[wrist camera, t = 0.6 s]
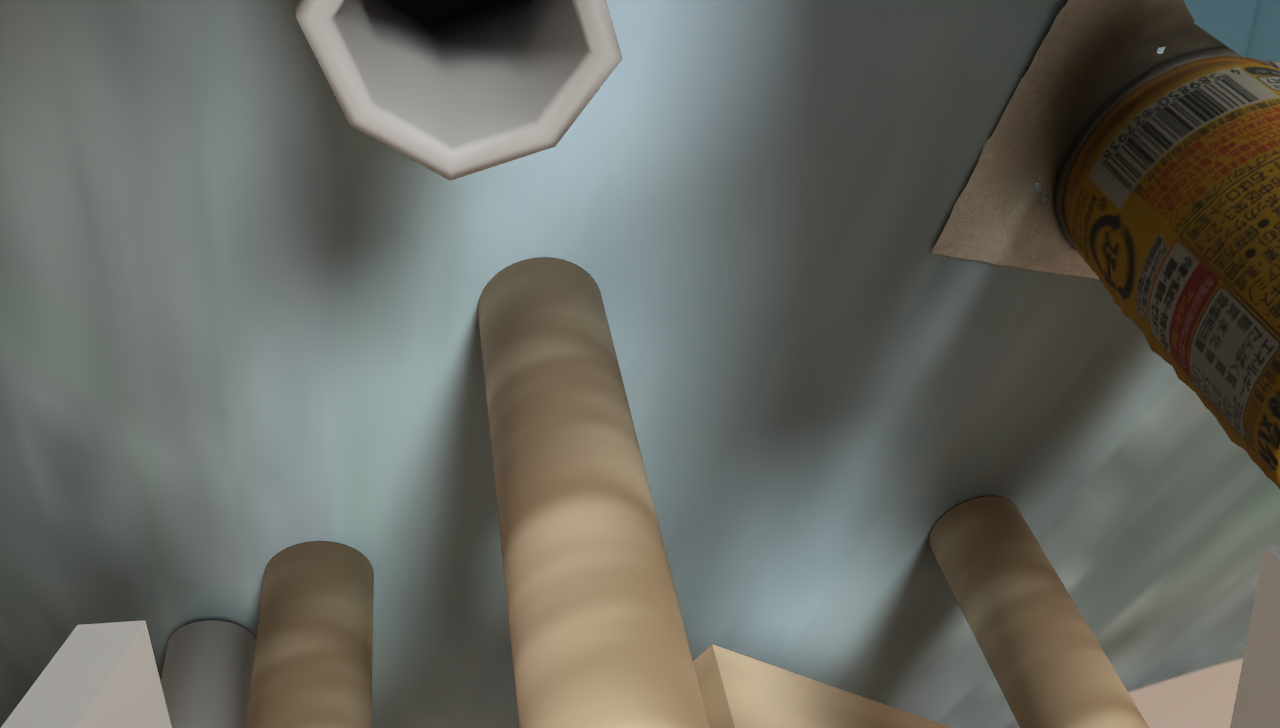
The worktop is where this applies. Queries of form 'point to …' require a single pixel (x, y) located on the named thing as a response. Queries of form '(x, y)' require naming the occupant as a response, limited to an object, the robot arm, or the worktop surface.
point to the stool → (642, 572)
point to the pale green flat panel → (208, 675)
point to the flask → (462, 73)
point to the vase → (1241, 25)
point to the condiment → (1148, 196)
